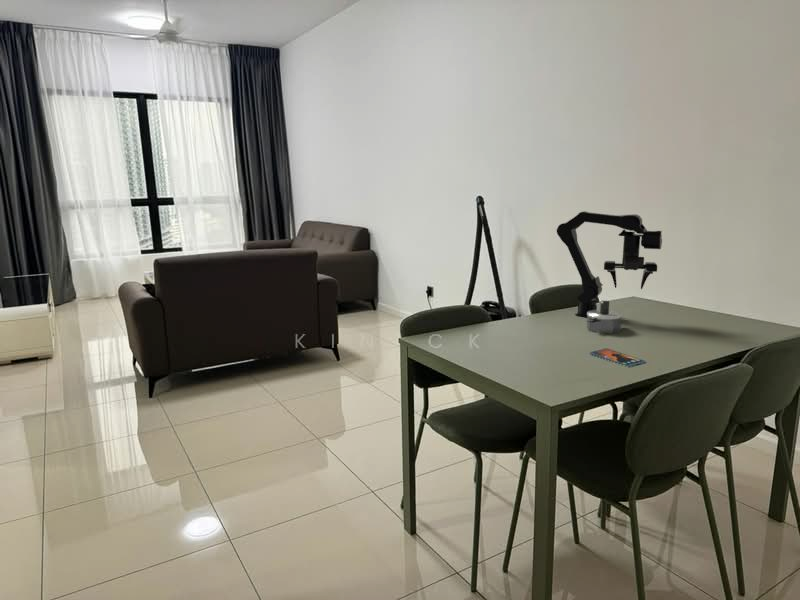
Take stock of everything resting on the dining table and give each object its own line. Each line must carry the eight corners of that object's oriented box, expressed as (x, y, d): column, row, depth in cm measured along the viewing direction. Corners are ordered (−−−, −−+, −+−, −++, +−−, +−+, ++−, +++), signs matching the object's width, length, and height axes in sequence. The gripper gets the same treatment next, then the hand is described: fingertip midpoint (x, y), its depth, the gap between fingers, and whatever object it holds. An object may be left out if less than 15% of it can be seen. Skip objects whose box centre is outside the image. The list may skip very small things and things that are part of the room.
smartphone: (628, 366, 164) (588, 352, 177) (628, 370, 165) (588, 356, 177) (647, 360, 168) (606, 347, 181) (646, 364, 169) (606, 350, 181)
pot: (577, 329, 206) (577, 316, 205) (603, 323, 215) (604, 310, 214) (603, 336, 197) (604, 322, 196) (629, 328, 206) (630, 315, 205)
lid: (586, 321, 201) (587, 303, 200) (587, 314, 213) (588, 297, 211) (622, 323, 198) (623, 305, 196) (621, 316, 209) (622, 298, 207)
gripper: (605, 249, 209) (602, 291, 212) (660, 251, 203) (656, 293, 206) (605, 246, 219) (602, 285, 222) (657, 247, 213) (654, 288, 216)
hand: (628, 288), depth 216 cm, fingers open, 9 cm apart
